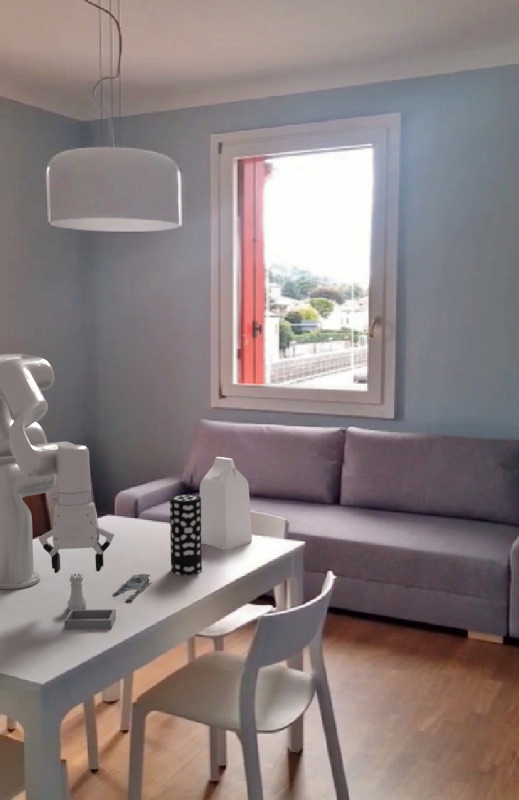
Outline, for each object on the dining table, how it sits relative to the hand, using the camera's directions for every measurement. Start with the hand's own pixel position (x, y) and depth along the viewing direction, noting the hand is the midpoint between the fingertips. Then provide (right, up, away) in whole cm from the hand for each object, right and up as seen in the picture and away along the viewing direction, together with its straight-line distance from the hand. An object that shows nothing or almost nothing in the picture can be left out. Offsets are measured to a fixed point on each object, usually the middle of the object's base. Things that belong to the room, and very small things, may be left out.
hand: (78, 570), depth 189 cm
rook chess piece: (-1, -9, +1) cm, 10 cm away
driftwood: (+10, -9, +16) cm, 21 cm away
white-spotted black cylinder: (+23, -7, +30) cm, 38 cm away
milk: (+32, -4, +58) cm, 66 cm away
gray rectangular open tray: (+5, -10, -8) cm, 14 cm away
